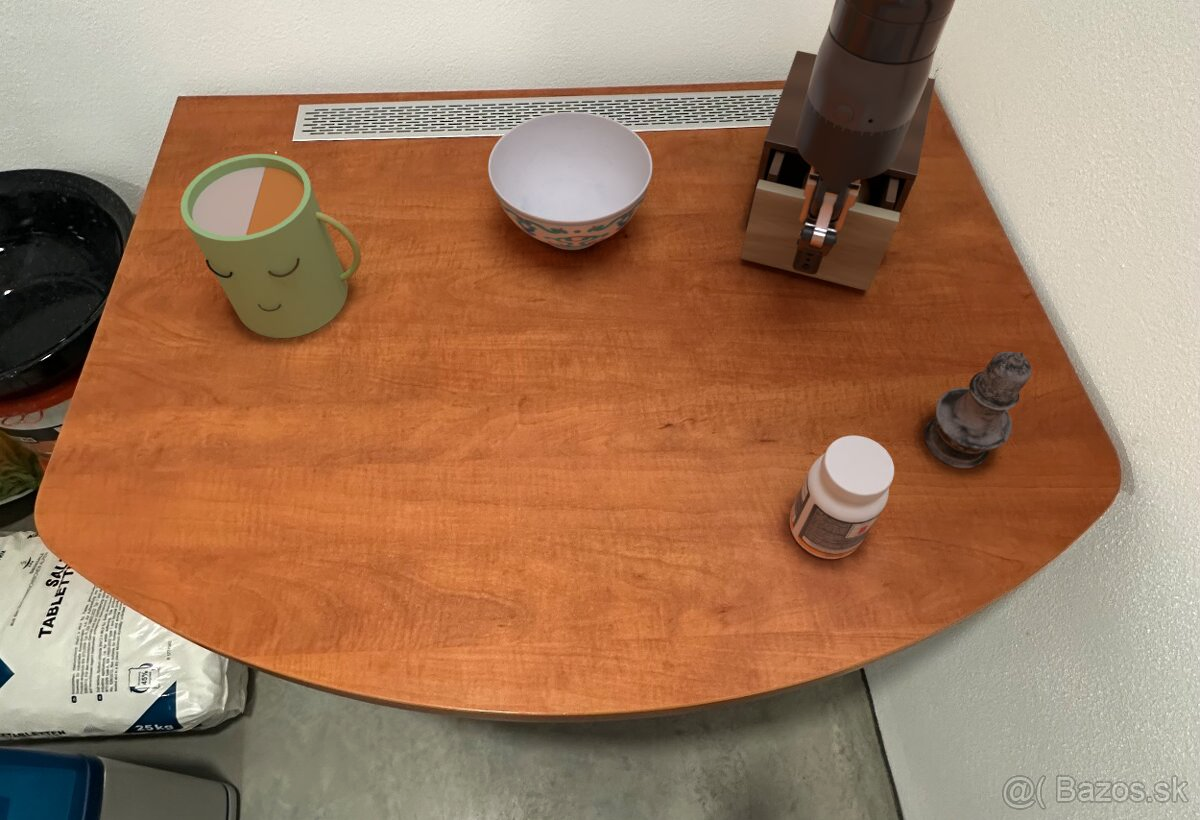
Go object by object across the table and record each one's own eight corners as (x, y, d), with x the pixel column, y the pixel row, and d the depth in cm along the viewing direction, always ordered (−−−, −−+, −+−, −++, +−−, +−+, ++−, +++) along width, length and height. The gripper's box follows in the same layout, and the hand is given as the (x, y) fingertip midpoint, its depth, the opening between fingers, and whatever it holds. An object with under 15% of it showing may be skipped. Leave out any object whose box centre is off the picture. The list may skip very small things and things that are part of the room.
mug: (224, 342, 71) (164, 245, 61) (248, 256, 77) (197, 154, 67) (367, 340, 71) (331, 243, 61) (380, 254, 77) (350, 152, 67)
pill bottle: (876, 539, 61) (922, 478, 53) (817, 574, 60) (854, 517, 52) (830, 482, 64) (866, 415, 56) (772, 514, 62) (800, 450, 54)
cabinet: (880, 259, 77) (917, 175, 69) (745, 226, 80) (764, 140, 71) (899, 166, 85) (935, 78, 76) (776, 138, 87) (797, 50, 79)
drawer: (866, 300, 74) (896, 231, 66) (737, 267, 76) (752, 196, 68) (888, 197, 81) (918, 125, 74) (770, 169, 83) (788, 96, 76)
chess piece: (990, 480, 64) (1064, 397, 54) (916, 459, 65) (976, 373, 55) (995, 422, 67) (1066, 333, 57) (924, 402, 68) (982, 312, 58)
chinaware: (524, 163, 84) (519, 99, 78) (662, 190, 82) (668, 127, 76) (474, 263, 77) (463, 202, 70) (625, 296, 74) (629, 236, 68)
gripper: (905, 166, 52) (834, 333, 66) (927, 51, 58) (859, 226, 73) (790, 140, 53) (746, 310, 67) (826, 31, 60) (778, 206, 74)
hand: (805, 266), depth 70 cm, fingers closed
